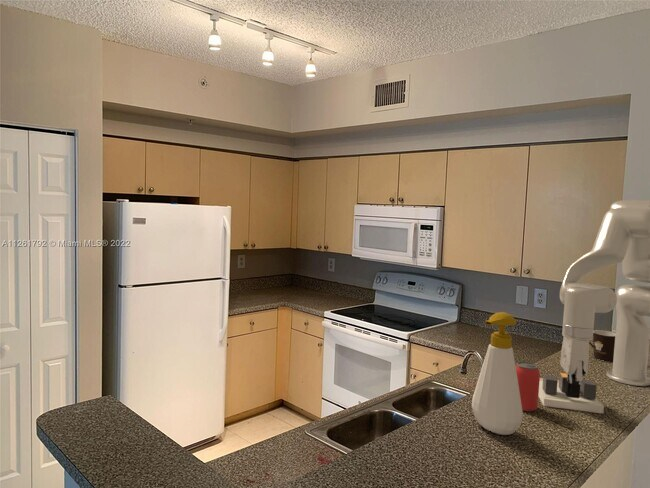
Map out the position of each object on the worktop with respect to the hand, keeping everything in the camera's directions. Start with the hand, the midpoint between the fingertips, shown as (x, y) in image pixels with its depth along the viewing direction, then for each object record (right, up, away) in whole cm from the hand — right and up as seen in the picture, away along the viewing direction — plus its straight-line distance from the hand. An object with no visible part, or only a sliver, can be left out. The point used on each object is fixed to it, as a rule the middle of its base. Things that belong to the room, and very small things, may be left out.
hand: (572, 396), depth 132 cm
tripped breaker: (+2, 0, +7) cm, 7 cm away
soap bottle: (-28, -3, -16) cm, 33 cm away
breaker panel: (+2, -3, +7) cm, 8 cm away
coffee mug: (+37, -1, +49) cm, 61 cm away
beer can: (-14, -3, -1) cm, 14 cm away
